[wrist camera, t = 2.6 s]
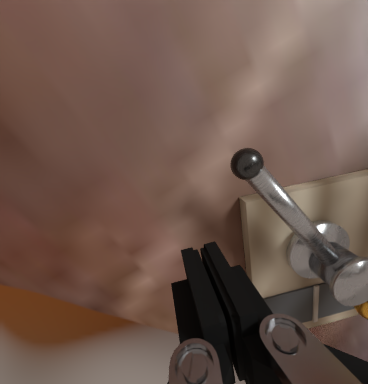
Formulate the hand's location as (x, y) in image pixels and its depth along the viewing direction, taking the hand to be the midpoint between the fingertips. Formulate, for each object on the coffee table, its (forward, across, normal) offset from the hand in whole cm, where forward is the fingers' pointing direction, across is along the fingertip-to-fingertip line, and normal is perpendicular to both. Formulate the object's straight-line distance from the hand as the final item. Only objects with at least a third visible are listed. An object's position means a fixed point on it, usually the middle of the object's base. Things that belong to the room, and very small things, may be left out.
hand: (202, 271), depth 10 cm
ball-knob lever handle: (+7, -11, +5) cm, 14 cm away
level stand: (+9, -13, +10) cm, 19 cm away
